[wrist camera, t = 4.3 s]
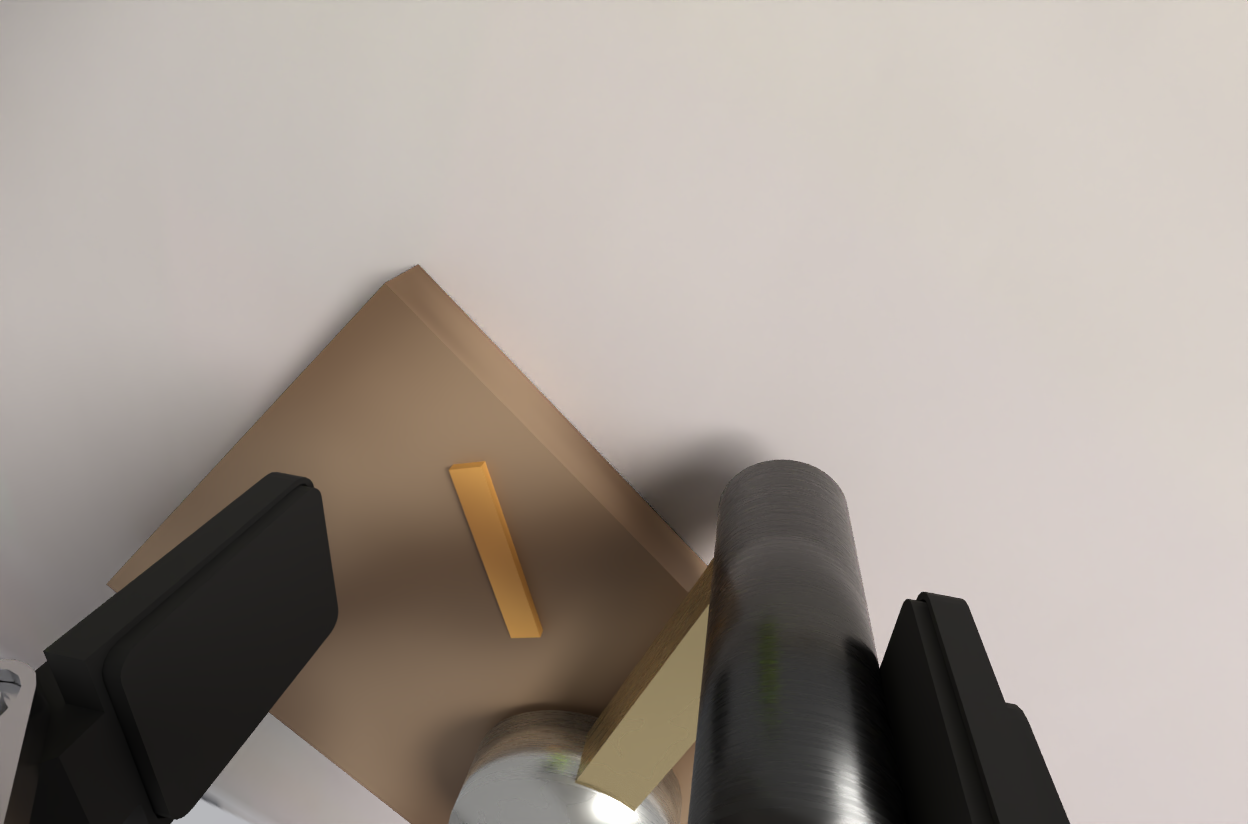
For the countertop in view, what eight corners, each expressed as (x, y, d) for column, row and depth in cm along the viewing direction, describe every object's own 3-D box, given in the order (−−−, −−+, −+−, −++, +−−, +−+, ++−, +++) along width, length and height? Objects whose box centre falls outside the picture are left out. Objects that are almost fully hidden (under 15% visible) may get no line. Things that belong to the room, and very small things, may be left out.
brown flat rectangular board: (1036, 909, 21) (1058, 975, 19) (687, 990, 27) (683, 1046, 25) (418, 264, 15) (379, 286, 13) (147, 551, 21) (98, 589, 19)
